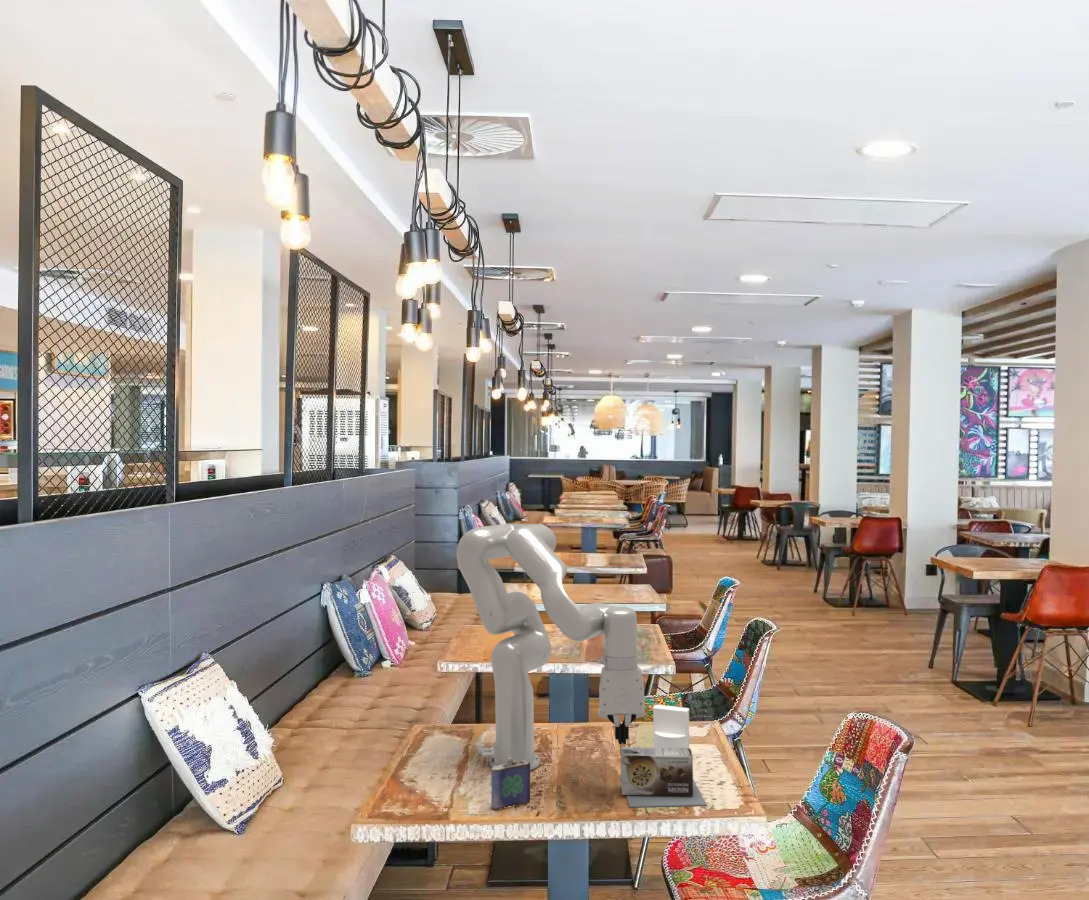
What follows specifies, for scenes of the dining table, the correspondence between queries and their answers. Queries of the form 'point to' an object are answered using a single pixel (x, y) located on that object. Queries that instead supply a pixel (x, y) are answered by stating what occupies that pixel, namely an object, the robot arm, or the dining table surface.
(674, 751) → the coffee box
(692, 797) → the mat
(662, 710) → the cylinder with rectangular tab
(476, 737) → the dining table surface
